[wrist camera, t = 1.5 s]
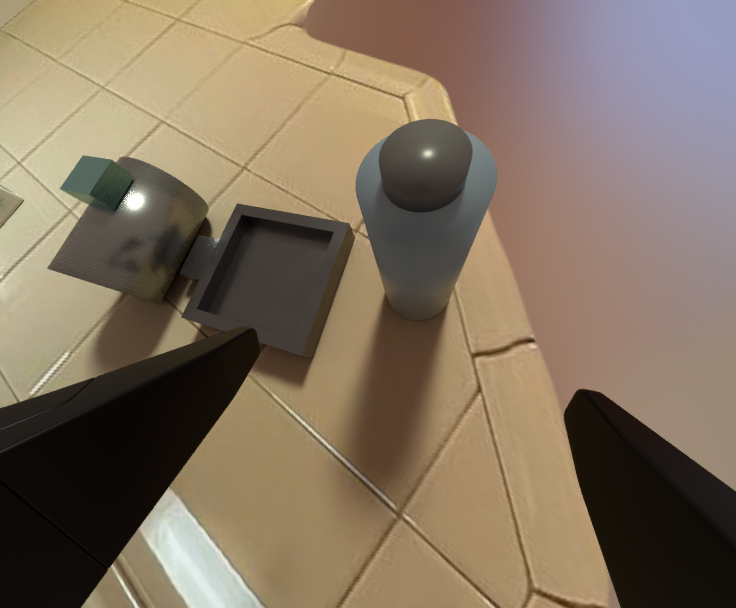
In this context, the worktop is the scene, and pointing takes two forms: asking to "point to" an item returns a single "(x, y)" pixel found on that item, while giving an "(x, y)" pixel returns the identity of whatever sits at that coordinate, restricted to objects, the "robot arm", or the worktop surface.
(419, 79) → the worktop surface
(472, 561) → the worktop surface
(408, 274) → the blue-grey capped bottle
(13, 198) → the syrup box
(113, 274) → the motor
